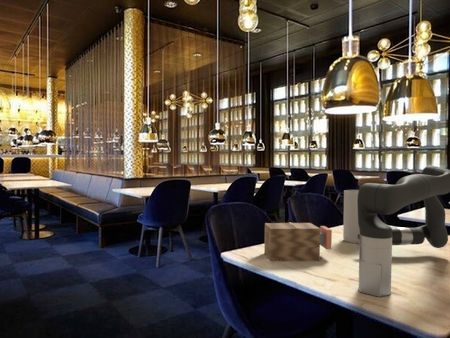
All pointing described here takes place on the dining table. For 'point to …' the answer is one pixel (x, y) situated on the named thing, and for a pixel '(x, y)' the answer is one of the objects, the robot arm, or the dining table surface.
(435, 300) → the dining table surface
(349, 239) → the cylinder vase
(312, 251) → the block
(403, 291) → the dining table surface
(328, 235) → the salmon square plate
